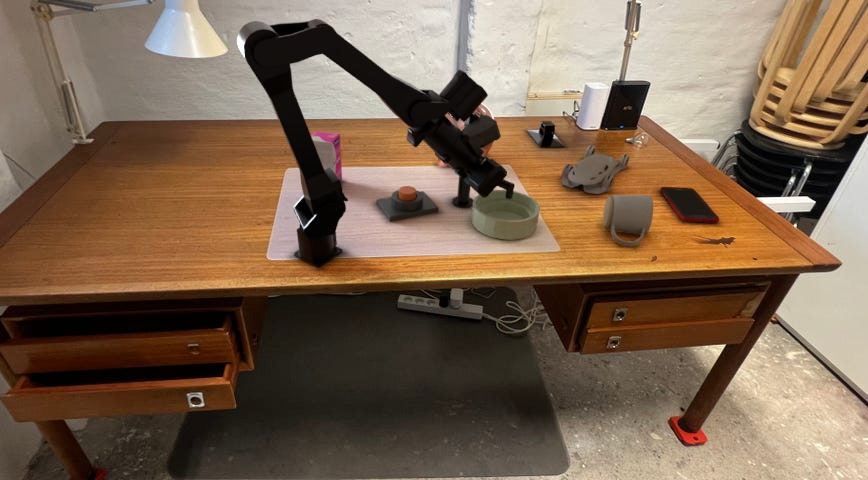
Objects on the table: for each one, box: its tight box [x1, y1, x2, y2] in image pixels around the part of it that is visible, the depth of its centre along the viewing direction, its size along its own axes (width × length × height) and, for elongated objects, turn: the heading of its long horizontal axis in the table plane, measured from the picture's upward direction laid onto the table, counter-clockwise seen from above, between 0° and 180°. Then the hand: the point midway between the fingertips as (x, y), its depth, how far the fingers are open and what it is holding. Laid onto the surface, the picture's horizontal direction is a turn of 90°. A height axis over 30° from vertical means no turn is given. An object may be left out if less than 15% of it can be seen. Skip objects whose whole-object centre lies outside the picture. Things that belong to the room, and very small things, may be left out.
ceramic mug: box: [602, 194, 654, 248], centre depth 100 cm, size 11×8×8 cm
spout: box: [497, 178, 516, 199], centre depth 103 cm, size 14×3×3 cm, turn 44°
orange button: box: [398, 185, 417, 201], centre depth 106 cm, size 4×4×2 cm
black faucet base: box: [451, 176, 474, 209], centre depth 109 cm, size 5×5×6 cm
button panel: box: [375, 189, 439, 222], centre depth 107 cm, size 11×8×3 cm
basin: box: [470, 189, 541, 241], centre depth 103 cm, size 13×13×4 cm
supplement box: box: [311, 130, 343, 182], centre depth 113 cm, size 6×6×12 cm
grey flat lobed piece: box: [561, 145, 630, 195], centre depth 122 cm, size 11×24×5 cm, turn 146°
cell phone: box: [659, 186, 720, 224], centre depth 112 cm, size 8×15×1 cm, turn 177°
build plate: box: [526, 120, 566, 149], centre depth 141 cm, size 12×7×5 cm, turn 7°
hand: (491, 185), depth 101 cm, fingers closed
